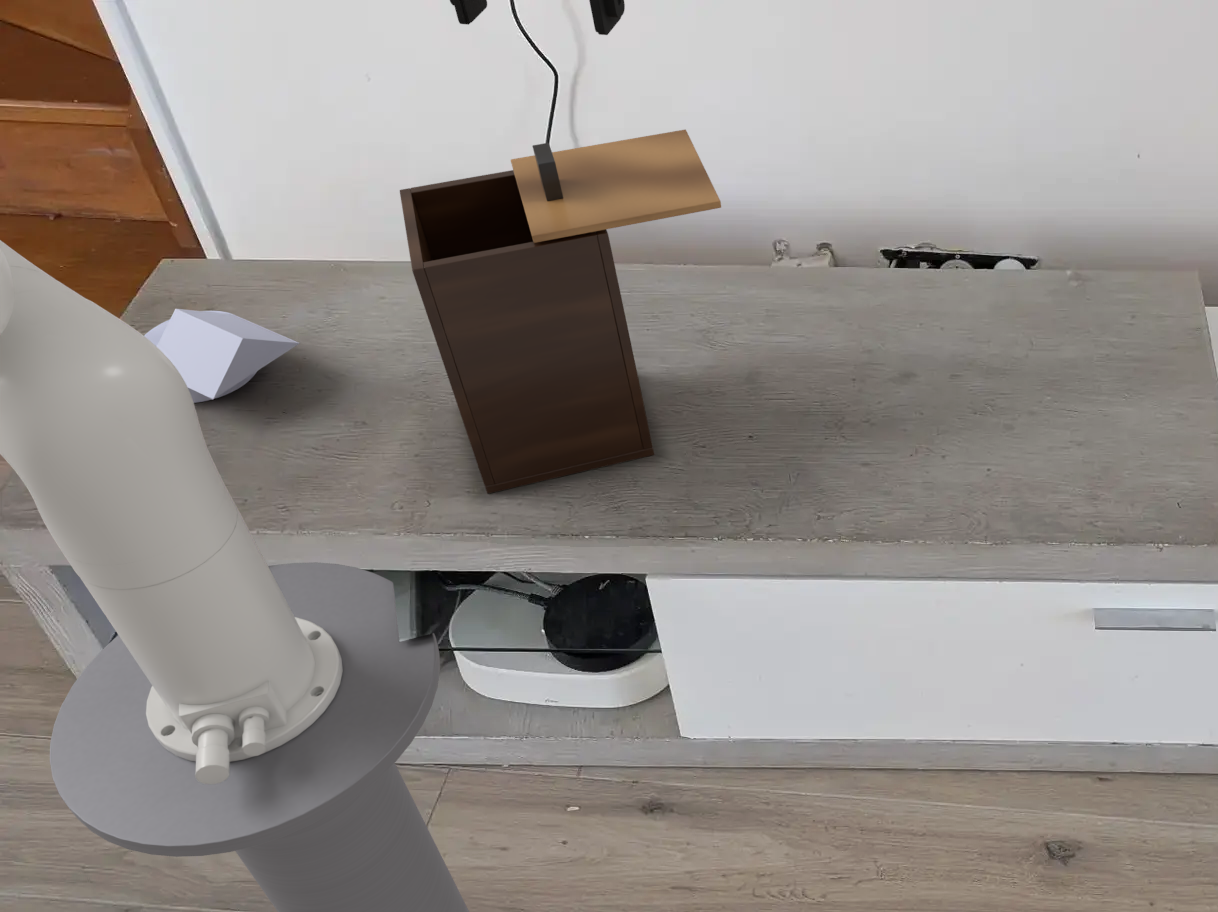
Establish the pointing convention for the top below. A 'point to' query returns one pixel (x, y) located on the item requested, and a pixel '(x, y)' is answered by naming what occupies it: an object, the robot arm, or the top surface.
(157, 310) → the top surface
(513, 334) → the box
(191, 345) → the white faceted chunk
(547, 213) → the lid
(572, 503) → the top surface
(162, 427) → the robot arm
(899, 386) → the top surface
